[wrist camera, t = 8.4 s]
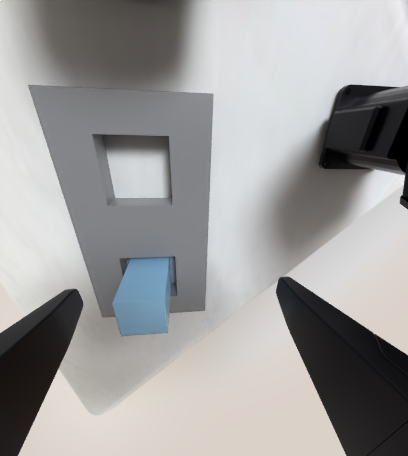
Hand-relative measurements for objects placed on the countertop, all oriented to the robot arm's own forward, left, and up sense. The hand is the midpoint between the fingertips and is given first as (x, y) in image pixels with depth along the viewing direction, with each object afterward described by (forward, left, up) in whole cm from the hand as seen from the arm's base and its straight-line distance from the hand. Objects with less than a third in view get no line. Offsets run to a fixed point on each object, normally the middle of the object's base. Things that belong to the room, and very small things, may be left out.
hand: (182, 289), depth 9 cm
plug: (+4, +8, -12) cm, 14 cm away
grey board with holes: (+4, +2, -12) cm, 12 cm away
